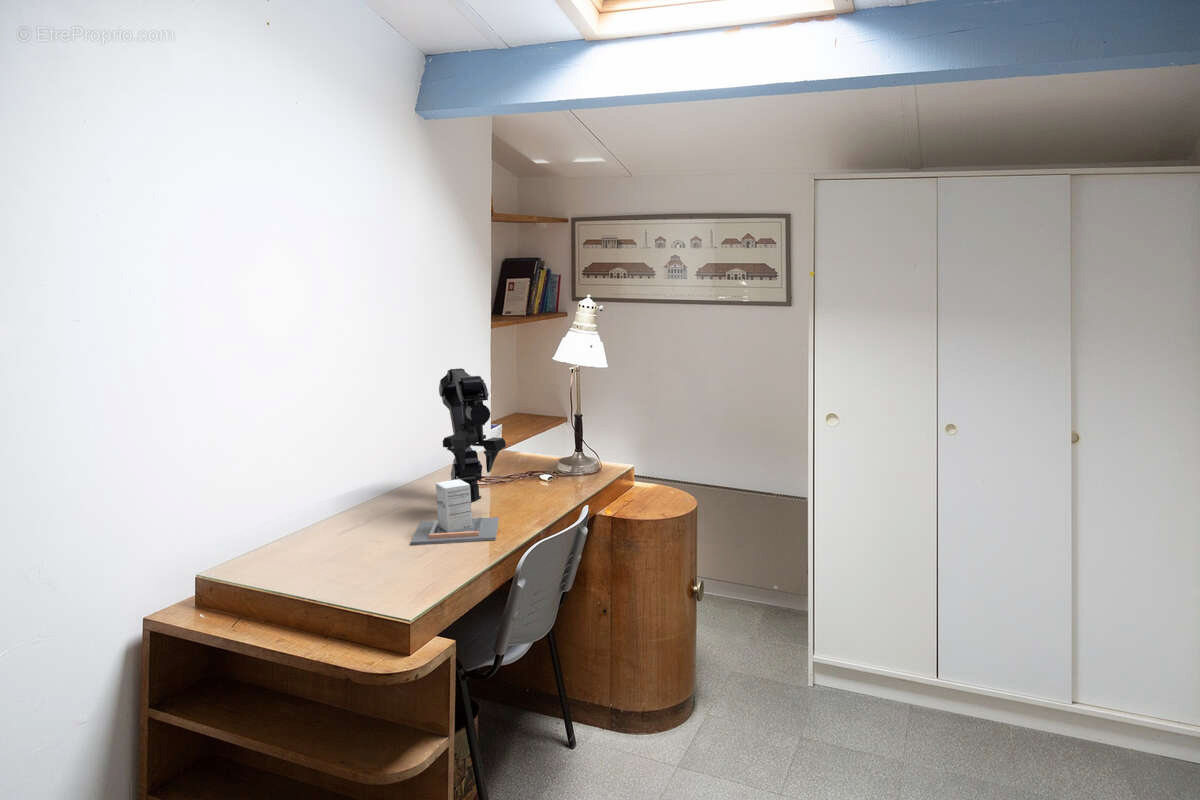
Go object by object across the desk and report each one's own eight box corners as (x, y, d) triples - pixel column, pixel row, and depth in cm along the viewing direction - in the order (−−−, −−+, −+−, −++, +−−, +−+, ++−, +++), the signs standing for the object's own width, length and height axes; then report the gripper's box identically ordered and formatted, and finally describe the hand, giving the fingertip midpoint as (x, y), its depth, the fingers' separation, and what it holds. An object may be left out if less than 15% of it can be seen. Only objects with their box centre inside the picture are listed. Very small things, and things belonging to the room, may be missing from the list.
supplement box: (437, 527, 218) (434, 482, 216) (463, 522, 222) (460, 478, 220) (447, 533, 212) (444, 488, 210) (473, 528, 216) (470, 483, 214)
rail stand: (420, 524, 224) (420, 518, 224) (498, 519, 226) (498, 513, 226) (410, 545, 207) (410, 538, 206) (495, 540, 208) (495, 533, 208)
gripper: (429, 422, 228) (433, 475, 231) (483, 425, 220) (487, 480, 223) (452, 416, 238) (455, 466, 241) (505, 418, 230) (508, 471, 233)
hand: (475, 471), depth 234 cm, fingers open, 9 cm apart
